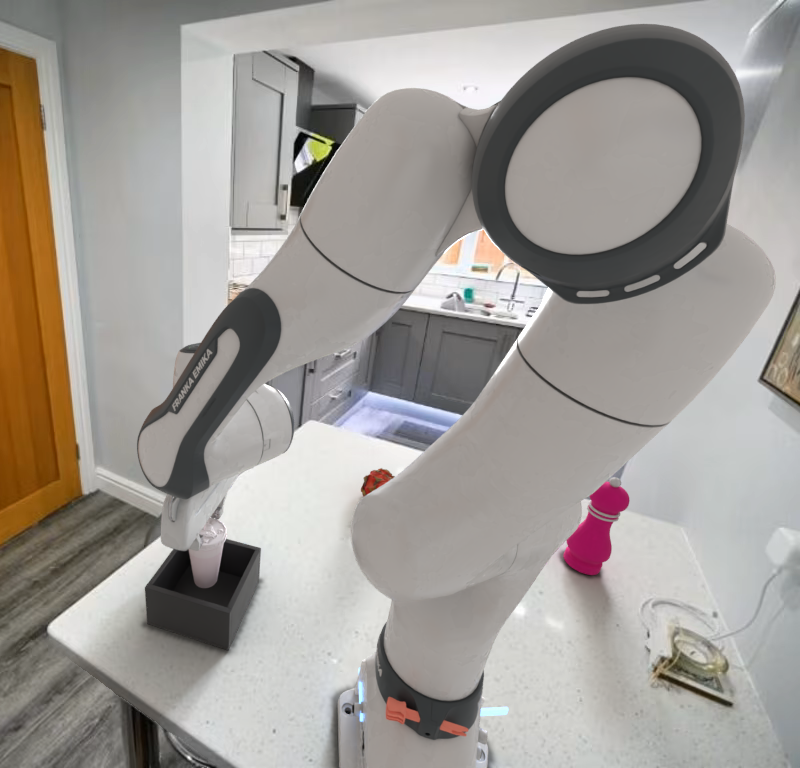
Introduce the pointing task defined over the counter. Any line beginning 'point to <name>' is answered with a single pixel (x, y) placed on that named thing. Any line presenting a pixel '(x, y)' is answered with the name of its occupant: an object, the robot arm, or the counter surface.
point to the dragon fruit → (375, 480)
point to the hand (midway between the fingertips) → (206, 530)
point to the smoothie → (208, 554)
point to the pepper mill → (596, 529)
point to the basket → (204, 595)
